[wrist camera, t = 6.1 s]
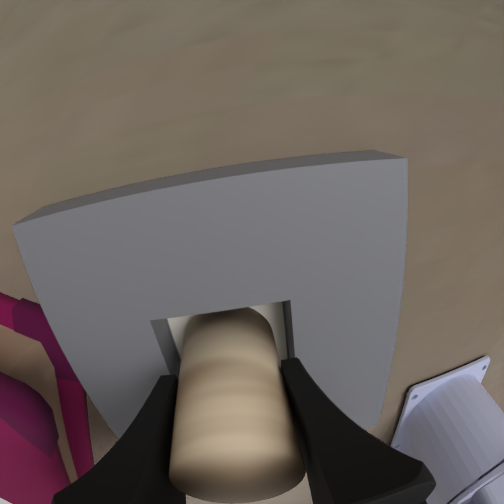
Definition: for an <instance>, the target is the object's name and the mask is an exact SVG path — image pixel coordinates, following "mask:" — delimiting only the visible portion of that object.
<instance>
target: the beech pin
mask: <svg viewBox="0 0 504 504" xmlns="http://www.w3.org/2000/svg"><path fill="white" fill-rule="evenodd" d="M305 473H306V468H305V464H304V459H303V455H302V451H301V447H300V443H299V439H298V434H297V430H296V426H295V422H294V418H293V414H292V409H291V405H290V401H289V397H288V393H287V390H286V386H285V381H284V377H283V373H282V368H281V364H280V359H279V355H278V351H277V347H276V343H275V339H274V335H273V331H272V328H271V326H270V324H269V322H268V321H267V319H266V318H265V317H264V316H263V315H261V314H260V313H259V312H257V311H256V310H254V309H252V308H249V307H245V308H238V309H232V310H225V311H218V312H211V313H204V314H197V315H196V316H195V317H194V318H193V319H192V320H191V321H190V323H189V324H188V326H187V328H186V331H185V336H184V343H183V350H182V358H181V365H180V373H179V381H178V389H177V397H176V406H175V415H174V425H173V434H172V445H171V455H170V467H169V479H170V481H171V483H172V484H173V485H174V486H175V487H176V488H177V489H178V490H180V491H181V492H183V493H185V494H187V495H189V496H192V497H195V498H198V499H201V500H206V501H211V502H218V503H248V502H255V501H261V500H265V499H269V498H272V497H275V496H278V495H281V494H283V493H285V492H287V491H289V490H291V489H292V488H294V487H295V486H297V485H298V484H299V483H300V482H301V481H302V480H303V478H304V476H305Z"/></svg>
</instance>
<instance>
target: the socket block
mask: <svg viewBox="0 0 504 504" xmlns="http://www.w3.org/2000/svg"><path fill="white" fill-rule="evenodd" d="M407 214H408V170H407V158H404V157H400V156H396V155H392V154H388V153H384V152H379V151H375V150H371V151H356V152H343V153H331V154H320V155H310V156H301V157H292V158H283V159H275V160H267V161H260V162H253V163H246V164H239V165H232V166H226V167H219V168H213V169H207V170H202V171H196V172H190V173H185V174H179V175H174V176H169V177H164V178H159V179H154V180H149V181H144V182H140V183H135V184H131V185H126V186H122V187H117V188H113V189H109V190H105V191H101V192H97V193H93V194H89V195H85V196H81V197H77V198H73V199H70V200H66V201H62V202H59V203H55V204H52V205H48V206H45V207H42V208H41V209H39V210H37V211H35V212H34V213H32V214H30V215H29V216H27V217H25V218H23V219H22V220H20V221H18V222H17V223H15V224H14V225H12V229H13V232H14V235H15V239H16V242H17V245H18V248H19V251H20V254H21V257H22V259H23V262H24V265H25V268H26V270H27V273H28V276H29V278H30V281H31V283H32V286H33V288H34V291H35V293H36V296H37V298H38V300H39V303H40V305H41V307H42V309H43V312H44V314H45V316H46V318H47V320H48V323H49V325H50V327H51V329H52V331H53V333H54V335H55V337H56V339H57V341H58V343H59V345H60V347H61V349H62V351H63V353H64V354H65V356H66V358H67V360H68V362H69V364H70V365H71V367H72V369H73V371H74V372H75V374H76V376H77V378H78V379H79V381H80V383H81V384H82V386H83V388H84V389H85V391H86V393H87V394H88V396H89V397H90V399H91V401H92V402H93V404H94V405H95V407H96V408H97V410H98V411H99V413H100V414H101V416H102V417H103V419H104V420H105V422H106V423H107V425H108V426H109V427H110V429H111V430H112V432H113V433H114V434H115V436H116V437H117V439H118V440H119V439H120V438H121V436H122V435H123V434H124V433H125V431H126V430H127V428H128V427H129V426H130V424H131V423H132V421H133V420H134V419H135V417H136V416H137V414H138V412H139V411H140V409H141V408H142V406H143V405H144V403H145V401H146V400H147V398H148V396H149V395H150V393H151V391H152V389H153V388H154V386H155V384H156V382H157V381H158V379H159V377H160V376H161V375H173V374H176V376H177V379H178V381H179V373H180V365H181V358H182V350H183V343H184V336H185V331H186V328H187V326H188V324H189V323H190V321H191V320H192V319H193V318H194V317H195V316H196V315H197V314H204V313H211V312H218V311H225V310H232V309H238V308H245V307H249V308H252V309H254V310H256V311H257V312H259V313H260V314H261V315H263V316H264V317H265V318H266V319H267V321H268V322H269V324H270V326H271V328H272V331H273V335H274V339H275V343H276V347H277V351H278V355H279V359H280V364H281V360H284V359H290V358H295V357H297V358H299V359H300V361H301V363H302V364H303V366H304V367H305V369H306V370H307V372H308V373H309V375H310V376H311V377H312V379H313V380H314V381H315V383H316V384H317V385H318V386H319V387H320V389H321V390H322V391H323V392H324V393H325V394H326V395H327V397H328V398H329V399H330V400H331V401H332V402H333V403H334V404H335V405H336V406H337V407H338V408H339V409H340V410H341V411H342V412H343V413H345V414H346V415H347V416H348V417H349V418H350V419H351V420H353V421H354V422H355V423H356V424H358V425H359V426H360V427H362V428H363V429H367V428H371V427H374V426H377V425H378V423H379V419H380V415H381V411H382V407H383V403H384V399H385V394H386V390H387V385H388V380H389V375H390V370H391V365H392V360H393V354H394V349H395V343H396V336H397V330H398V323H399V316H400V308H401V300H402V291H403V281H404V270H405V257H406V240H407Z"/></svg>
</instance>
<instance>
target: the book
mask: <svg viewBox="0 0 504 504" xmlns="http://www.w3.org/2000/svg"><path fill="white" fill-rule="evenodd" d="M93 466H94V461H93V454H92V447H91V440H90V432H89V423H88V412H87V401H86V391H85V389H84V388H83V386H82V384H81V383H80V381H79V379H78V378H77V376H76V374H75V372H74V371H73V369H72V367H71V365H70V364H69V362H68V360H67V358H66V356H65V354H64V353H63V351H62V349H61V347H60V345H59V343H58V341H57V339H56V337H55V335H54V333H53V331H52V329H51V327H50V325H49V323H48V320H47V318H46V316H45V314H44V312H43V309H42V307H41V305H40V304H37V303H35V302H32V301H29V300H27V299H24V298H22V299H21V300H18V299H15V298H13V297H10V296H8V295H5V294H3V293H0V498H2V499H4V500H6V501H8V502H10V503H12V504H51V502H52V499H53V496H54V494H56V493H57V492H59V491H61V490H62V489H64V488H65V487H67V486H69V485H70V484H72V483H73V482H75V481H76V480H77V479H79V478H80V477H81V476H83V475H84V474H85V473H86V472H87V471H89V470H90V469H91V468H92V467H93Z"/></svg>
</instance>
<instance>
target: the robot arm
mask: <svg viewBox="0 0 504 504" xmlns="http://www.w3.org/2000/svg"><path fill="white" fill-rule="evenodd" d="M489 362H490V358H489V357H488V356H484V357H482V358H480V359H478V360H476V361H474V362H471V363H469V364H467V365H465V366H462V367H460V368H458V369H455V370H453V371H450V372H448V373H446V374H443V375H441V376H438V377H435V378H433V379H430V380H428V381H425V382H422V383H419V384H417V385H414V386H412V387H411V388H410V389H409V391H408V394H407V397H406V401H405V404H404V407H403V410H402V413H401V417H400V420H399V423H398V426H397V428H396V431H395V434H394V437H393V440H392V442H391V445H390V446H389V445H387V444H385V443H384V442H382V441H381V440H379V439H378V438H376V437H374V436H373V435H371V434H370V433H368V432H367V431H366V430H364V429H363V428H362V427H360V426H359V425H358V424H356V423H355V422H354V421H353V420H351V419H350V418H349V417H348V416H347V415H346V414H345V413H343V412H342V411H341V410H340V409H339V408H338V407H337V406H336V405H335V404H334V403H333V402H332V401H331V400H330V399H329V398H328V397H327V395H326V394H325V393H324V392H323V391H322V390H321V389H320V387H319V386H318V385H317V384H316V383H315V381H314V380H313V379H312V377H311V376H310V375H309V373H308V372H307V370H306V369H305V367H304V366H303V364H302V363H301V361H300V359H299V358H297V357H295V358H290V359H284V360H281V368H282V373H283V377H284V381H285V386H286V390H287V393H288V397H289V401H290V405H291V409H292V414H293V418H294V422H295V426H296V430H297V434H298V439H299V443H300V447H301V451H302V455H303V459H304V464H305V468H306V472H307V477H308V481H309V486H310V491H311V495H312V500H313V504H504V413H503V412H502V410H501V409H500V408H499V406H498V405H497V404H496V402H495V401H494V400H493V399H492V397H491V396H490V395H489V393H488V392H487V391H486V390H485V388H484V387H483V386H482V384H481V381H482V379H483V377H484V374H485V372H486V370H487V367H488V365H489ZM177 389H178V379H177V376H176V374H173V375H161V376H160V377H159V379H158V381H157V382H156V384H155V386H154V388H153V389H152V391H151V393H150V395H149V396H148V398H147V400H146V401H145V403H144V405H143V406H142V408H141V409H140V411H139V412H138V414H137V416H136V417H135V419H134V420H133V421H132V423H131V424H130V426H129V427H128V428H127V430H126V431H125V433H124V434H123V435H122V436H121V438H120V439H119V440H118V441H117V443H116V444H115V445H114V446H113V447H112V448H111V449H110V451H109V452H108V453H107V454H106V455H105V456H104V457H103V458H102V459H101V460H100V461H99V462H98V463H97V464H96V465H95V466H93V467H92V468H91V469H90V470H89V471H87V472H86V473H85V474H84V475H83V476H81V477H80V478H79V479H77V480H76V481H75V482H73V483H72V484H70V485H69V486H67V487H65V488H64V489H62V490H61V491H59V492H57V493H56V494H54V496H53V499H52V502H51V504H186V494H185V493H183V492H181V491H180V490H178V489H177V488H176V487H175V486H174V485H173V484H172V483H171V481H170V479H169V467H170V455H171V445H172V434H173V425H174V415H175V406H176V397H177Z"/></svg>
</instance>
